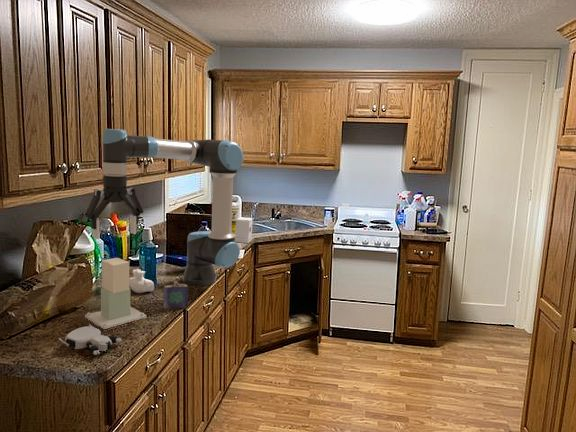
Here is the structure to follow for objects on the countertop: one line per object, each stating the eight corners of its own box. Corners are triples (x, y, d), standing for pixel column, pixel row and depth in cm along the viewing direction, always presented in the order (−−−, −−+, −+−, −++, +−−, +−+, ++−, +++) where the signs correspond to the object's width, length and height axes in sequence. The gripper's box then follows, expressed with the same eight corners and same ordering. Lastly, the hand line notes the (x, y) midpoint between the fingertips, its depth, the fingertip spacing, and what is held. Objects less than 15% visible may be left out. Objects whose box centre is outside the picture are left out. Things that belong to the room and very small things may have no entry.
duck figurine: (127, 294, 194) (117, 279, 186) (135, 280, 199) (126, 264, 191) (152, 298, 191) (143, 283, 183) (160, 284, 196) (151, 268, 188)
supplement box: (248, 243, 288) (249, 220, 285) (234, 242, 289) (235, 219, 287) (252, 240, 297) (253, 217, 294) (238, 239, 298) (239, 216, 296)
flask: (163, 309, 175) (163, 282, 173) (163, 306, 178) (163, 280, 176) (188, 308, 178) (188, 281, 176) (187, 305, 181) (187, 279, 179)
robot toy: (124, 347, 145) (87, 334, 150) (124, 334, 145) (88, 321, 150) (95, 364, 134) (56, 349, 139) (96, 350, 133) (57, 336, 138)
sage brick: (121, 309, 169) (121, 284, 168) (130, 314, 165) (130, 288, 164) (101, 315, 163) (100, 288, 162) (109, 320, 159) (109, 293, 158)
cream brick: (117, 283, 167) (117, 257, 166) (129, 289, 162) (129, 262, 161) (102, 287, 163) (101, 260, 161) (113, 293, 158) (113, 265, 156)
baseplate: (126, 307, 175) (126, 302, 175) (146, 318, 166) (146, 313, 166) (84, 318, 163) (84, 313, 163) (104, 330, 154) (104, 325, 154)
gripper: (141, 173, 167) (141, 229, 171) (73, 174, 149) (74, 238, 152) (153, 175, 163) (152, 233, 166) (83, 177, 144) (84, 242, 148)
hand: (115, 235), depth 159 cm, fingers open, 13 cm apart
